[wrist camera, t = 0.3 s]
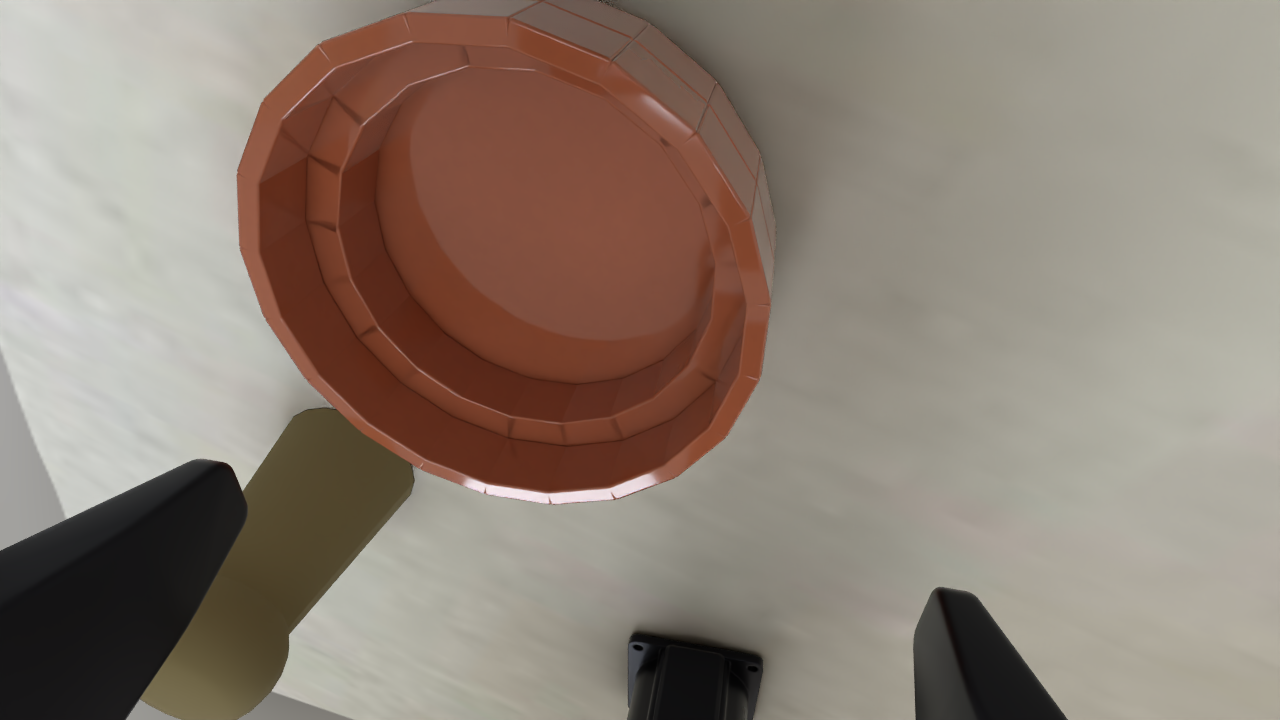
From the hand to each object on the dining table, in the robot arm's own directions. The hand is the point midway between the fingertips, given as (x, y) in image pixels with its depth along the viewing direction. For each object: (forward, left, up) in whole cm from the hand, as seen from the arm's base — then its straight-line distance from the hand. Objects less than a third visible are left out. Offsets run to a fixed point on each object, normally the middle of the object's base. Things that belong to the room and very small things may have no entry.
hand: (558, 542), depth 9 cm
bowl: (-3, +5, -14) cm, 15 cm away
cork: (-15, +15, -14) cm, 25 cm away
